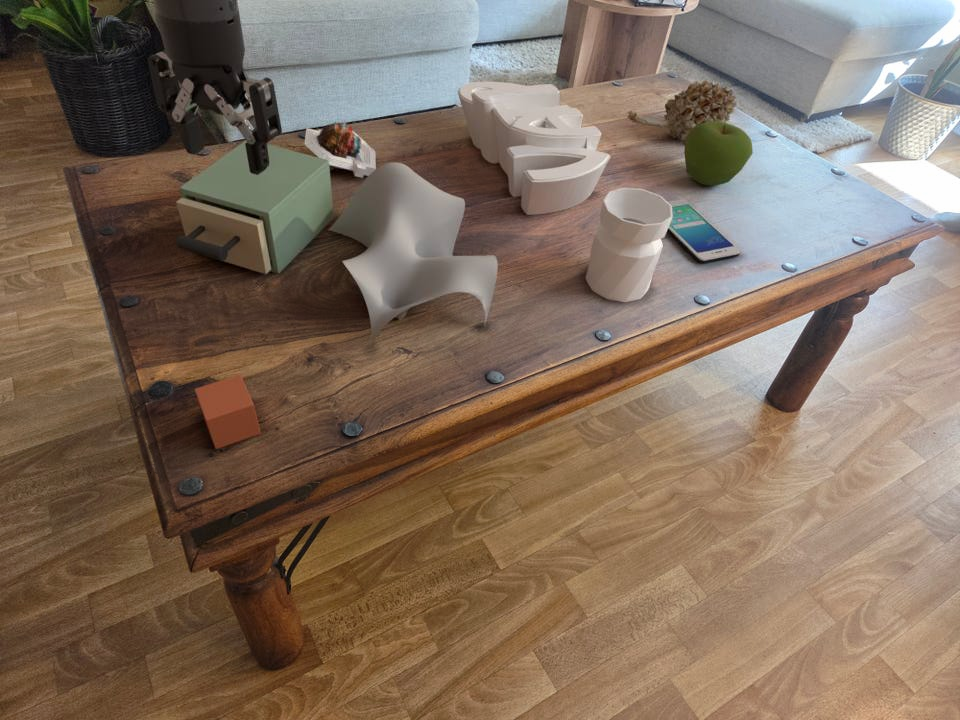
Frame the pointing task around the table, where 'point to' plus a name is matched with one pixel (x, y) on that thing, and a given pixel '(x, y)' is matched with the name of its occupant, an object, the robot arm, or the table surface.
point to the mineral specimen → (342, 149)
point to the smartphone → (699, 234)
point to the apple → (716, 152)
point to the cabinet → (272, 196)
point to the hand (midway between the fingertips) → (227, 161)
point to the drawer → (224, 234)
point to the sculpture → (409, 245)
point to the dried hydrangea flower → (692, 109)
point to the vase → (628, 243)
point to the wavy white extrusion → (534, 143)
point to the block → (228, 411)
